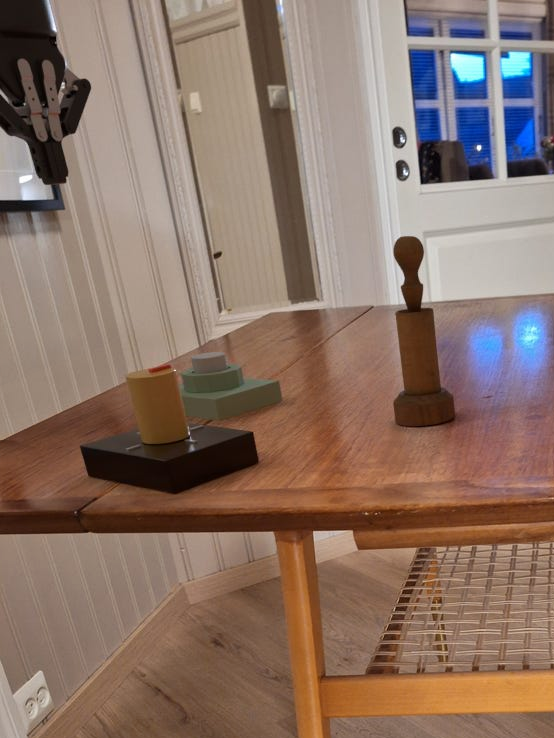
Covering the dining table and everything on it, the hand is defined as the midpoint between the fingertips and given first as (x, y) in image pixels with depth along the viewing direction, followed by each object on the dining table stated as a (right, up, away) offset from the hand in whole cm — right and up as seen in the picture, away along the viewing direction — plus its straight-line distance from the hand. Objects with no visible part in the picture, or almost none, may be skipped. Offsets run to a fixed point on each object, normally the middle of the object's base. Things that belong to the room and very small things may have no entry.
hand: (55, 183), depth 90 cm
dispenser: (+12, -19, +16) cm, 28 cm away
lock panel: (+15, -31, -7) cm, 35 cm away
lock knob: (+15, -29, -9) cm, 33 cm away
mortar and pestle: (+38, -24, +3) cm, 45 cm away
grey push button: (+12, -15, +14) cm, 24 cm away
